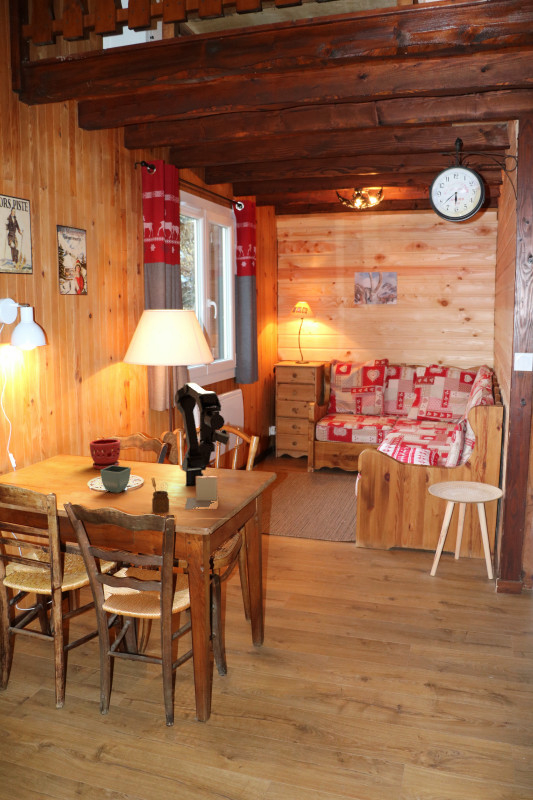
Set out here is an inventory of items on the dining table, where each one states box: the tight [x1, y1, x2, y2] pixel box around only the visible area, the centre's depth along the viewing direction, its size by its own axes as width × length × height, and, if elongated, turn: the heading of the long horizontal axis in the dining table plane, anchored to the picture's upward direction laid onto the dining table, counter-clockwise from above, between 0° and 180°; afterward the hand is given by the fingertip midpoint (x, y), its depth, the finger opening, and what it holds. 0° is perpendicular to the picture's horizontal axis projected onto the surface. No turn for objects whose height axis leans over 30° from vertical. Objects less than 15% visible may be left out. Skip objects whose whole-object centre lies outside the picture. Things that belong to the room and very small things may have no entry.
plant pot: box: [89, 438, 121, 470], centre depth 297 cm, size 13×13×12 cm
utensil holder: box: [151, 477, 170, 514], centre depth 236 cm, size 6×6×12 cm
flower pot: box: [99, 465, 132, 494], centre depth 261 cm, size 9×9×9 cm
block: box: [195, 475, 218, 501], centre depth 249 cm, size 8×2×9 cm, turn 93°
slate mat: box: [184, 497, 214, 511], centre depth 246 cm, size 12×14×1 cm
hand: (207, 464), depth 256 cm, fingers closed
